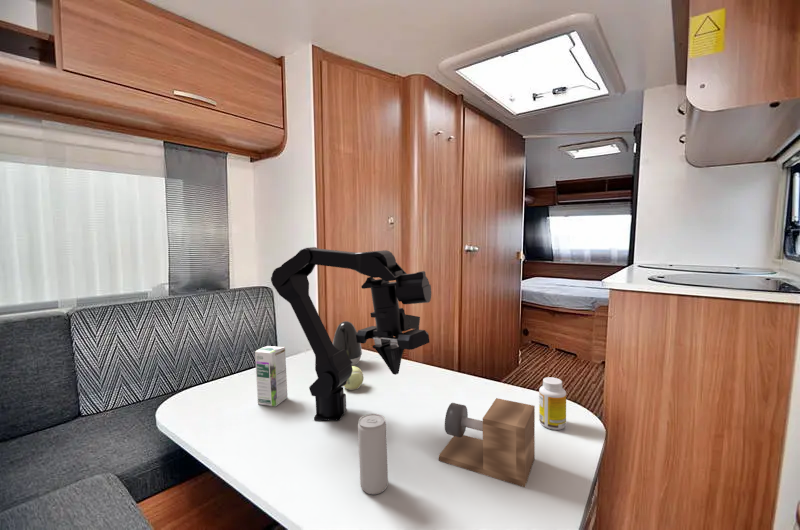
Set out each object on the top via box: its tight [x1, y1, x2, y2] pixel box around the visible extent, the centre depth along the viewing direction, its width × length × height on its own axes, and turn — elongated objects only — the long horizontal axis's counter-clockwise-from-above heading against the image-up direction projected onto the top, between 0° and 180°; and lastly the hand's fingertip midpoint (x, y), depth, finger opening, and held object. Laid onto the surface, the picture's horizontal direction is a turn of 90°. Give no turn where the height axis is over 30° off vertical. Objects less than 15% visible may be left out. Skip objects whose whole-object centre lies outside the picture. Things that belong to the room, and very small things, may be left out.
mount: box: [438, 397, 536, 488], centre depth 69 cm, size 16×9×10 cm, turn 60°
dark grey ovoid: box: [332, 320, 363, 367], centre depth 122 cm, size 10×10×15 cm
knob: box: [444, 402, 483, 438], centre depth 70 cm, size 8×6×6 cm
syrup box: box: [254, 345, 289, 407], centre depth 97 cm, size 6×6×14 cm
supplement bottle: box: [538, 376, 567, 431], centre depth 81 cm, size 6×6×10 cm
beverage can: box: [357, 413, 389, 496], centre depth 62 cm, size 5×5×12 cm
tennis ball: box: [343, 365, 365, 391], centre depth 104 cm, size 6×7×7 cm
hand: (395, 373), depth 82 cm, fingers closed
